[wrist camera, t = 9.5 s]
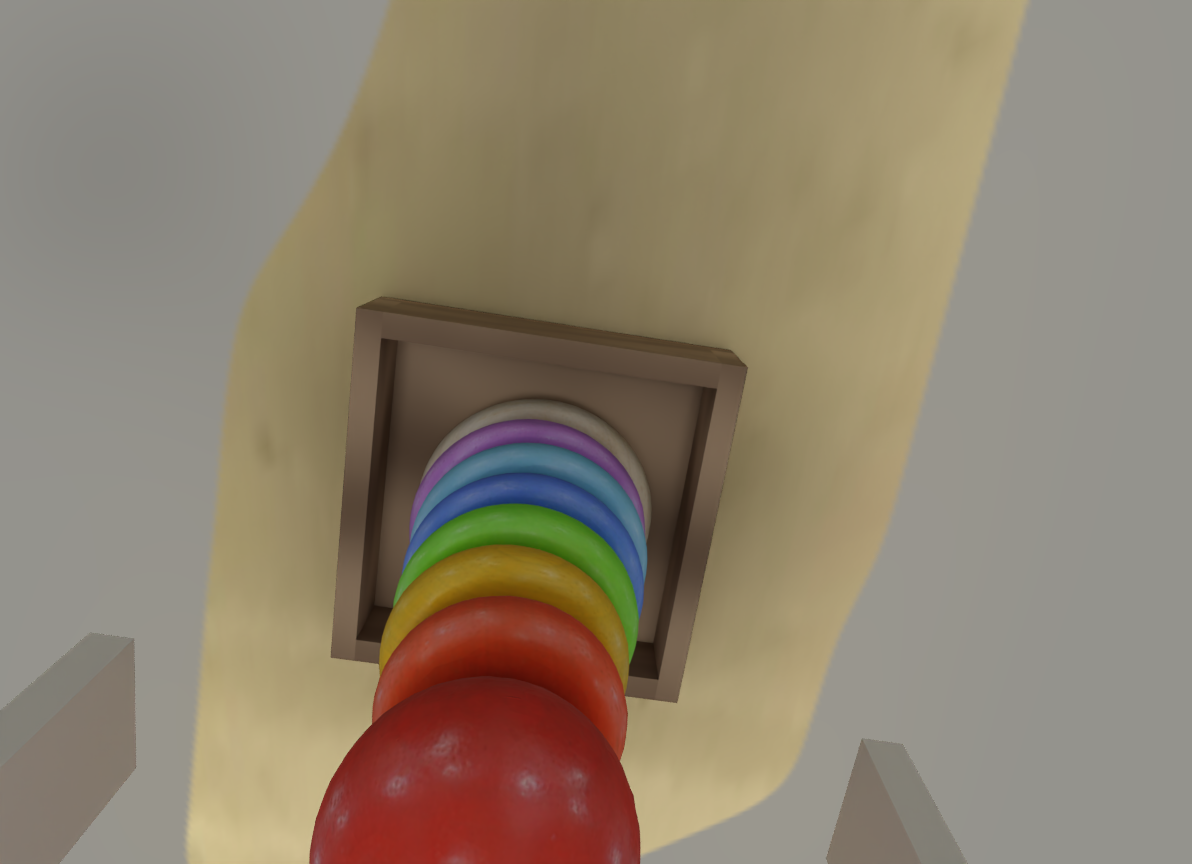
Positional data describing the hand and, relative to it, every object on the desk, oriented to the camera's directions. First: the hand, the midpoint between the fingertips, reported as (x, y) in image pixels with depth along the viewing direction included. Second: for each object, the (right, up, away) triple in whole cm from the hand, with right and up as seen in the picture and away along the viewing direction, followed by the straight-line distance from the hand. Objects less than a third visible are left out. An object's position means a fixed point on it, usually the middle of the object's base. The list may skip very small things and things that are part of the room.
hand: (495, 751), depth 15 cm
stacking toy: (0, +3, +14) cm, 14 cm away
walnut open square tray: (0, +4, +14) cm, 15 cm away
